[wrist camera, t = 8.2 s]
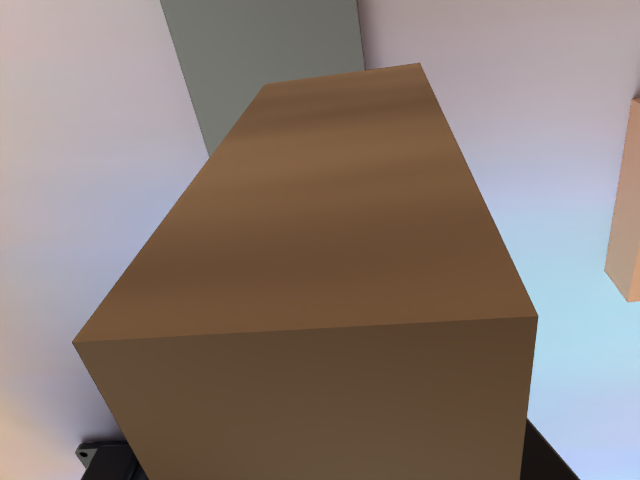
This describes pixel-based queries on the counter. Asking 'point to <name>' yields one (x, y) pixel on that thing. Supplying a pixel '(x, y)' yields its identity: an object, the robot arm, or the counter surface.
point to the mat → (257, 50)
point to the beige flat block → (627, 216)
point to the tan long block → (323, 302)
